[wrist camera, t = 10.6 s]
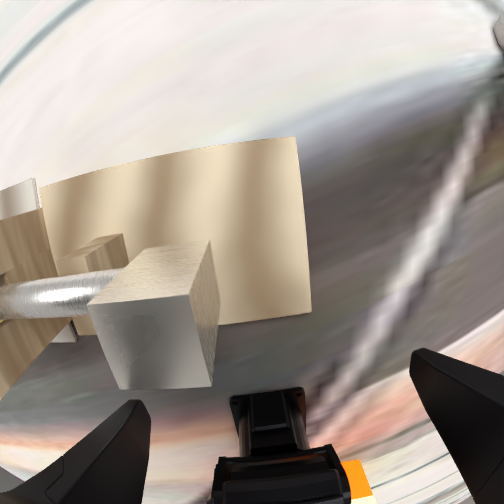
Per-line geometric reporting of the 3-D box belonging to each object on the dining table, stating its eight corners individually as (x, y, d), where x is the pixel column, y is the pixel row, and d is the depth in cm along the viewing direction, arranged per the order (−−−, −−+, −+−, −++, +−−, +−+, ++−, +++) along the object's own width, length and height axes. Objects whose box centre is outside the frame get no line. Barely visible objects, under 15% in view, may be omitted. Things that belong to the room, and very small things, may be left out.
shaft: (209, 239, 13) (188, 294, 7) (220, 301, 14) (211, 386, 8) (-52, 282, 13) (-102, 313, 7) (-40, 319, 14) (-85, 355, 8)
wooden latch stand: (290, 123, 18) (355, 70, 7) (309, 317, 22) (359, 430, 11) (-28, 204, 18) (-116, 231, 7) (11, 339, 22) (-52, 403, 11)
